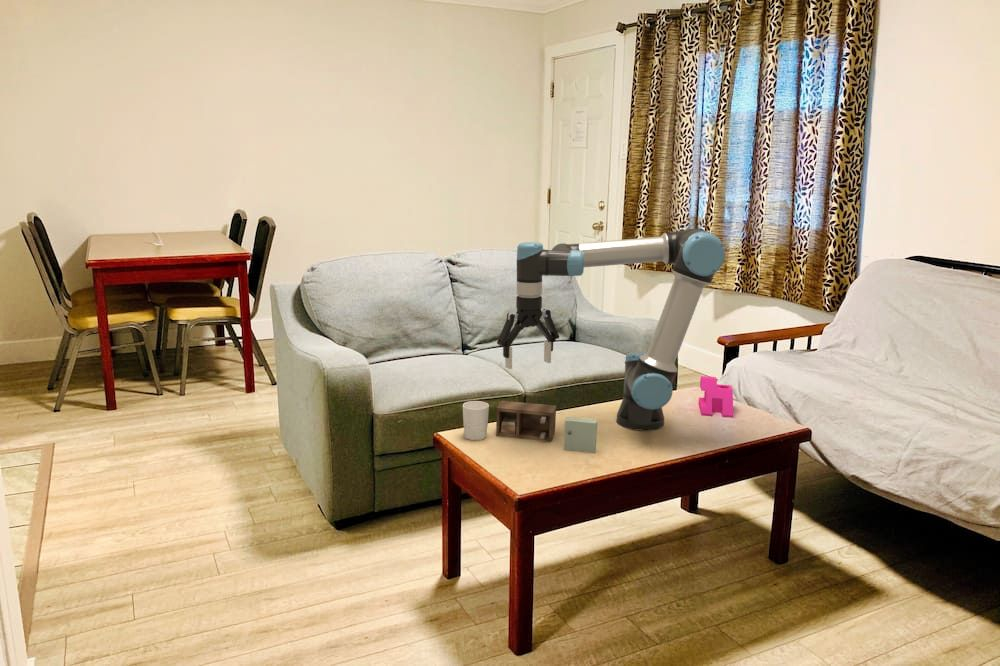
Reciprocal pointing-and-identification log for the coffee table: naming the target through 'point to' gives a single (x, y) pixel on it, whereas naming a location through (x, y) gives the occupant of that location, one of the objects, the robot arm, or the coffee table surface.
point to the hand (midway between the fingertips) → (528, 365)
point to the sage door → (580, 434)
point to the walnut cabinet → (526, 420)
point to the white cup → (475, 419)
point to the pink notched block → (715, 398)
